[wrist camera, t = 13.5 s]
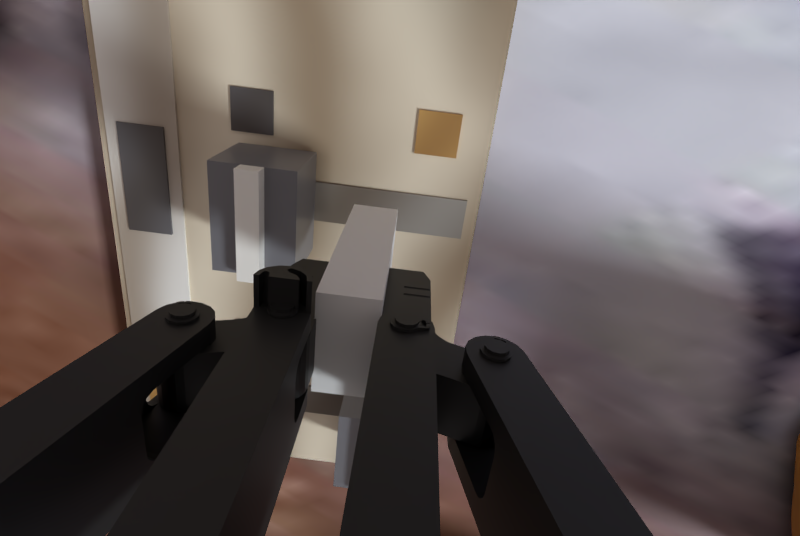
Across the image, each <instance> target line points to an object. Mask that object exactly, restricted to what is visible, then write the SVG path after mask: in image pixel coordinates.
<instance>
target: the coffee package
mask: <svg viewBox="0 0 800 536" xmlns="http://www.w3.org/2000/svg"><path fill="white" fill-rule="evenodd" d="M791 530H792V536H800V434H799V436H798V439H797V444H796V459H795V473H794V491H793V497H792V510H791Z"/></svg>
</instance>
